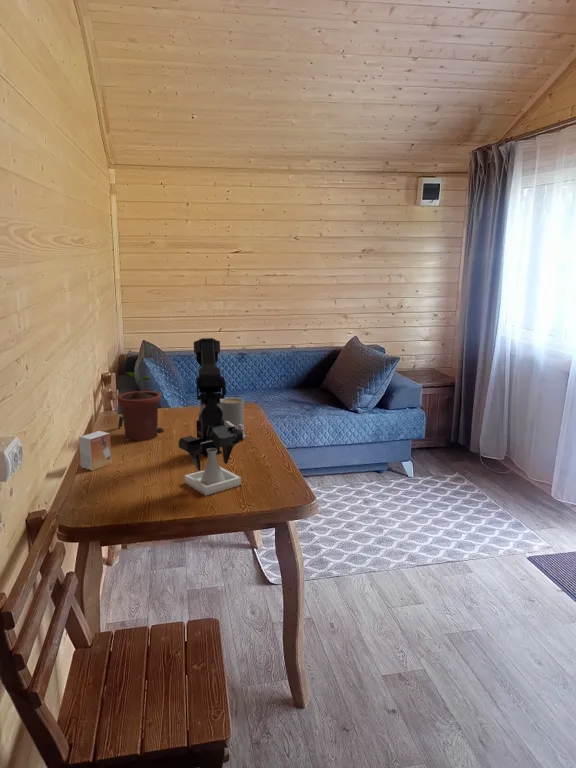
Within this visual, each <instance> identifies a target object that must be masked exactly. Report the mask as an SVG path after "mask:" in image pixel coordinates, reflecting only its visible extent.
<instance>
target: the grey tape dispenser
mask: <svg viewBox="0 0 576 768" xmlns="http://www.w3.org/2000/svg"><path fill="white" fill-rule="evenodd" d="M232 426H235V425H233V424H231V423H230V422H229V421H226V422H225V427H232ZM237 429H239V430H241V431H242V433H243V438H244V439H246V437H247V436H246V434H245V425H244V424H239V425H238V426H237Z"/></svg>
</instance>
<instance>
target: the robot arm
mask: <svg viewBox="0 0 576 768" xmlns="http://www.w3.org/2000/svg"><path fill="white" fill-rule="evenodd" d="M220 354H221V341H220V340H218V339H216V338H214V337H207V338H206V337H202V338H199V339H198V340H195V341H193V355H195V356H196V357H195V358H196V362H197V364H198V365H199V367H200V368H199V369H198V376H196V400H199V401H200V402H199V403H200V411H199V412H198V414H197V416H198V418H197V419H198V420H197V419H196V421H195V422H196V437H194V436H193V435H189V436H183V437H181V438H180V439H179V440H178V448H179V449H182V450H183V451H185V452H187V453H188V455H189V456H190V458H191V460H192V462H193V464H194V466H195V468H196V470H197V472H199V471H201V455H203V456H204V457H208V452H207V449H209V448H216V449H217V452H216V454H217V455H218V454H222V458H223V463H224V464H226V465H227V464H228V462H229V460H230V456H231V453H232V451H233V448H234V447H235V446H236V445H238V444H239V443H240V441H243V440H244V439H243V433H242V431H241V430H239V429H237V428H238V427H236V426H232V427H225V425H224V421H223V419H222V416H223V414H222V409H221V401H220V399H225V398H226V397H225V396H226V395H227V385H226V379H225V378H224V376H222V375H221V373H222V372H221V369H220V368H219V367H217V366H216V364H217V362H218V361H219V355H220Z"/></svg>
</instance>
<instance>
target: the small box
mask: <svg viewBox="0 0 576 768" xmlns="http://www.w3.org/2000/svg"><path fill="white" fill-rule="evenodd" d="M78 441H79V443H78V444H79V455H80V457H79V458H80V468H81V467H84V468H86V469H85V470H88V469H89V471H95V470H97V469H101V468H103V467H107V466H109V465H112V463H113V462H112V461H113V460H112V449H111V445H112V444H111V434H110V433H109V432H105V431H101V430H96V431H94V432H91V433H87V434H84V435H81V436H79V437H78ZM84 468H83V469H84Z"/></svg>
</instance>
